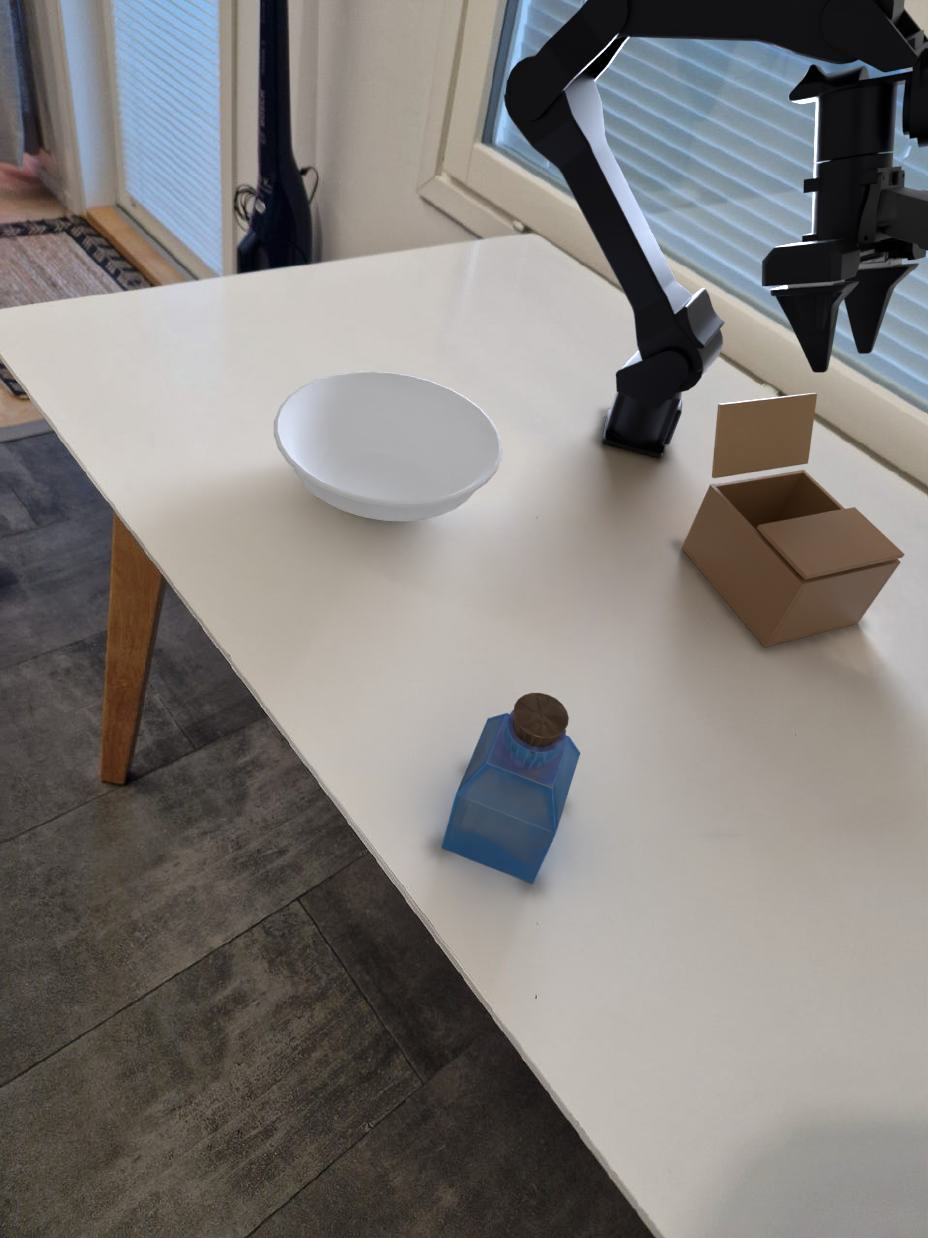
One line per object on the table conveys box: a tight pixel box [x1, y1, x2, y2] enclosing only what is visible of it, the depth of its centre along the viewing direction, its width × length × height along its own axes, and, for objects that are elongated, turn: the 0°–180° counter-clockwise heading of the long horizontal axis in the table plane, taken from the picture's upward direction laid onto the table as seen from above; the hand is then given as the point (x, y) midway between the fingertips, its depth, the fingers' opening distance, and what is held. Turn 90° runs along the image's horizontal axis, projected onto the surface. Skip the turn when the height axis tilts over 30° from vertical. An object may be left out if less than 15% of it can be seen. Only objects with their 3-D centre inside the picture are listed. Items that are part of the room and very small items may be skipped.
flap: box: [711, 392, 818, 479], centre depth 76 cm, size 6×11×1 cm
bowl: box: [273, 370, 503, 522], centre depth 77 cm, size 20×20×6 cm
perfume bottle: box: [440, 692, 581, 885], centre depth 53 cm, size 6×6×12 cm
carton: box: [681, 469, 905, 648], centre depth 76 cm, size 13×11×8 cm
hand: (843, 362), depth 74 cm, fingers open, 9 cm apart
